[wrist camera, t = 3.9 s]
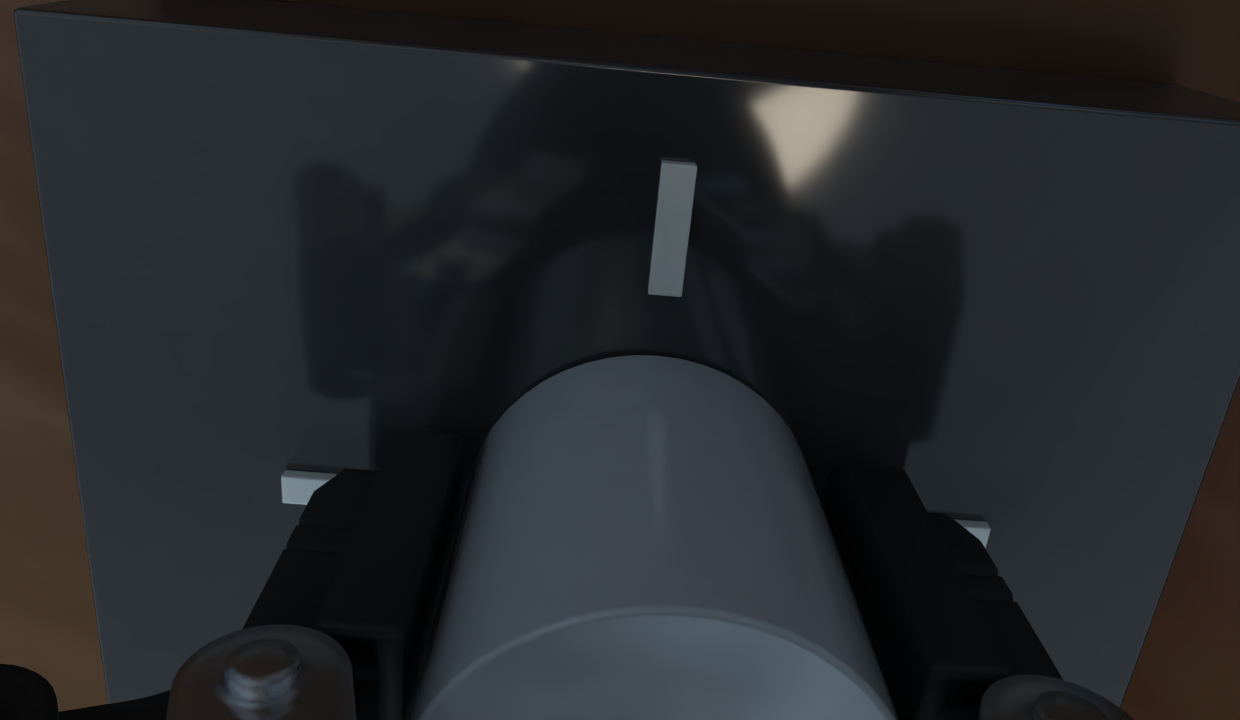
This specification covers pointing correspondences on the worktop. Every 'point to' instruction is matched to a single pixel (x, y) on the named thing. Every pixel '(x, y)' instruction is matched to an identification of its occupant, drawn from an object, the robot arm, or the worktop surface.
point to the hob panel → (617, 281)
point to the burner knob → (645, 563)
